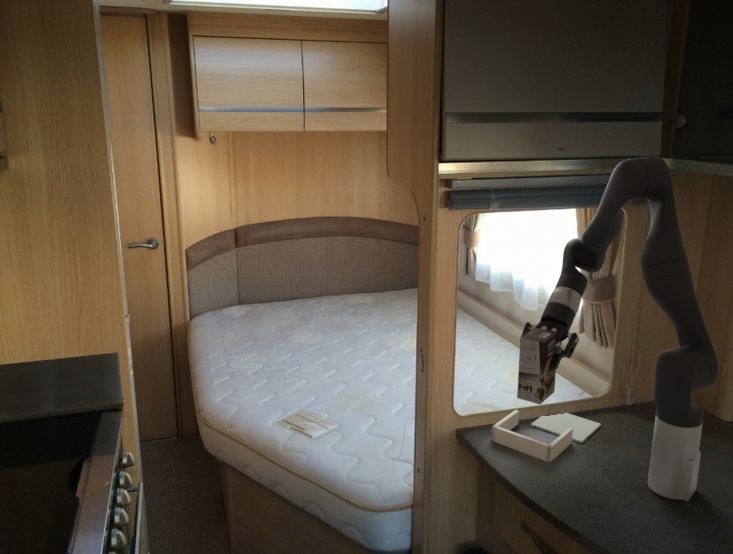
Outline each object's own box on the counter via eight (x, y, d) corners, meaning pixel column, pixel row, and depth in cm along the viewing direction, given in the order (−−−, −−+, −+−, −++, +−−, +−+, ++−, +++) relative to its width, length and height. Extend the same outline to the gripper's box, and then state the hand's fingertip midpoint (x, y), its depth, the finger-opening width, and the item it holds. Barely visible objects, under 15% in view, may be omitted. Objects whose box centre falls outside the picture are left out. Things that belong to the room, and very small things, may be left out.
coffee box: (541, 405, 157) (544, 342, 152) (516, 398, 160) (519, 336, 156) (555, 392, 163) (559, 331, 159) (531, 385, 167) (534, 326, 163)
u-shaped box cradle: (571, 443, 164) (572, 428, 163) (549, 462, 155) (551, 447, 154) (514, 423, 174) (515, 409, 173) (491, 440, 166) (492, 426, 165)
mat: (600, 425, 173) (601, 423, 172) (581, 443, 164) (581, 441, 164) (551, 410, 182) (551, 408, 181) (531, 425, 173) (531, 423, 173)
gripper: (531, 295, 167) (506, 351, 162) (585, 306, 158) (560, 366, 153) (539, 310, 172) (516, 365, 167) (592, 321, 163) (569, 379, 158)
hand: (537, 365), depth 160 cm, fingers closed on coffee box, 6 cm apart
